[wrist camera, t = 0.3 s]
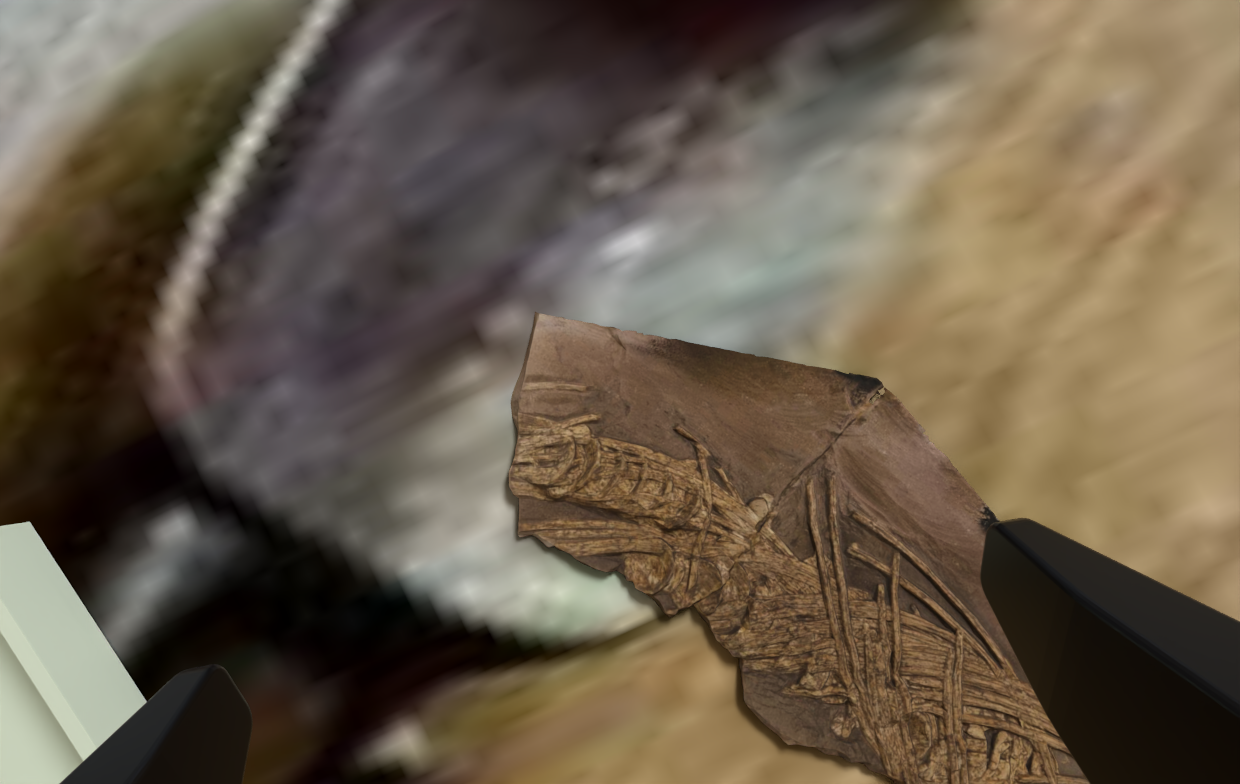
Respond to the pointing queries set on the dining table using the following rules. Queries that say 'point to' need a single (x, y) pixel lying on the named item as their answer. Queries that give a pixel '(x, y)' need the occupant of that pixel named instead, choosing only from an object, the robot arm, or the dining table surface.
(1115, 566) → the robot arm
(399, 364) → the dining table surface
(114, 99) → the dining table surface
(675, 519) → the wooden fragment
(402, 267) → the dining table surface
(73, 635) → the tray
